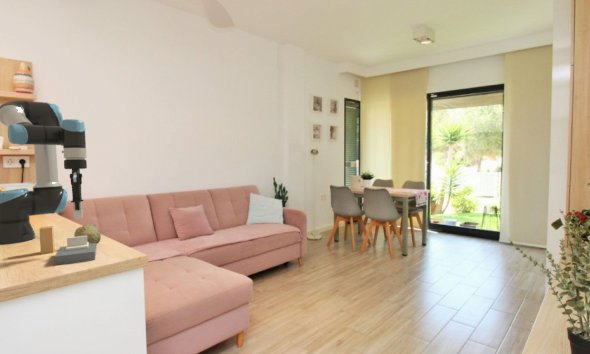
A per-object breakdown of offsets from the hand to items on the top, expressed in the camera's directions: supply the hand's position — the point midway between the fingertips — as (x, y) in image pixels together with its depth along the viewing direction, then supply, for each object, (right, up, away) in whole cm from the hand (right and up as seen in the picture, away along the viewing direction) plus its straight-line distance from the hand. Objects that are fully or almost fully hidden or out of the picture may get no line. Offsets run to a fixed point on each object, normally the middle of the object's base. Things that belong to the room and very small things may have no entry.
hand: (78, 218), depth 134 cm
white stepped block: (+3, -11, -5) cm, 12 cm away
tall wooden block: (-12, -14, 0) cm, 18 cm away
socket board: (+4, -14, -7) cm, 16 cm away
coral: (-2, -13, +9) cm, 16 cm away
